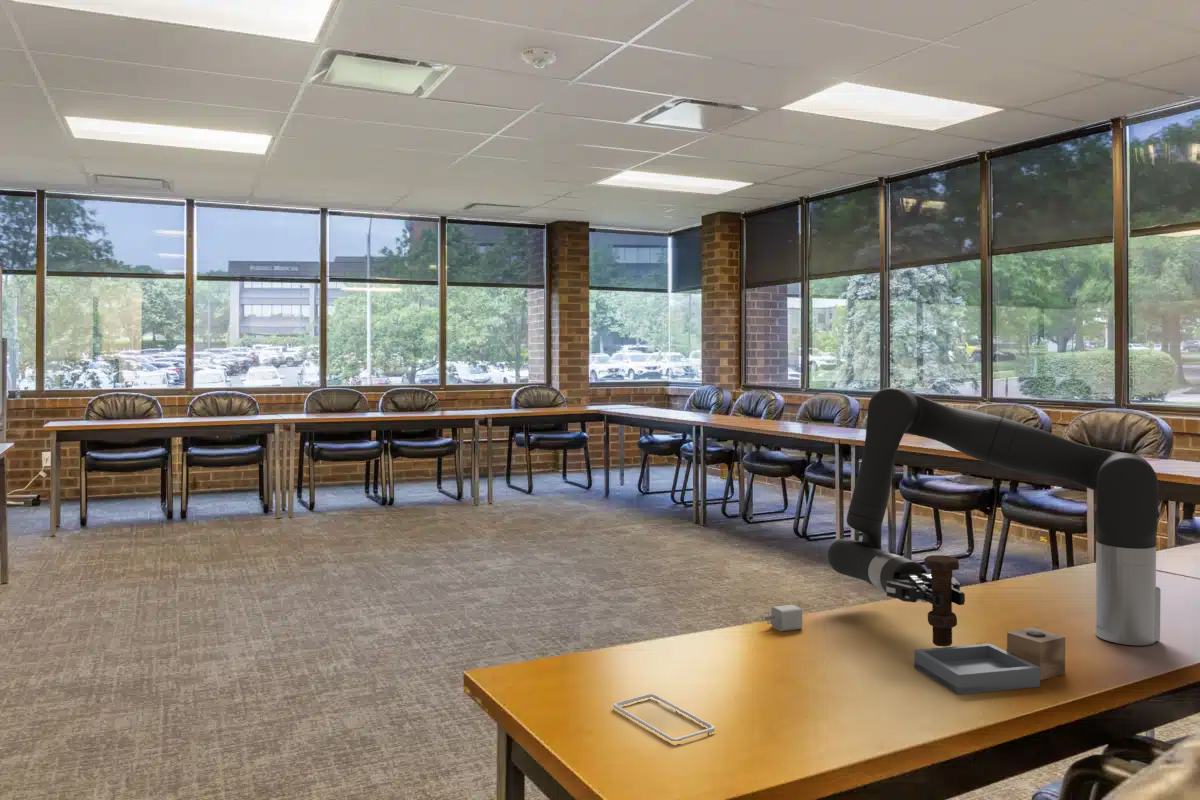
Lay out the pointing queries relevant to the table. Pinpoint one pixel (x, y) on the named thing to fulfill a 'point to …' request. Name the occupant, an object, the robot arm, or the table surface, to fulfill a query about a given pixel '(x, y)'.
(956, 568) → the bolt
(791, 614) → the usb wall charger
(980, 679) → the tray
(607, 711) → the table surface
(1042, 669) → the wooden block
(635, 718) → the phone case
